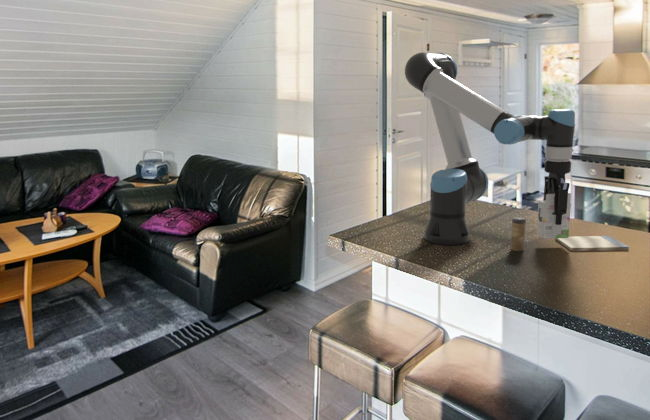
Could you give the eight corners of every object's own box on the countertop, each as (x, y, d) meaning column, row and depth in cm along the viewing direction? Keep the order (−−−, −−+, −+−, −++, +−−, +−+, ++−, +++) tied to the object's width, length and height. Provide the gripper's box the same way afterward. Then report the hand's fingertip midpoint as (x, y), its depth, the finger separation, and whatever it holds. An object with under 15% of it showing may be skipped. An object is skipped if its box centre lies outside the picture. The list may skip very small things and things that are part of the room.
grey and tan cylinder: (512, 251, 164) (514, 220, 161) (508, 247, 168) (510, 217, 165) (525, 251, 164) (527, 220, 161) (521, 247, 168) (523, 217, 165)
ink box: (561, 233, 170) (565, 189, 166) (568, 238, 165) (572, 193, 161) (535, 234, 170) (538, 190, 166) (542, 239, 165) (545, 193, 161)
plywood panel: (570, 250, 163) (571, 247, 163) (554, 239, 175) (555, 236, 174) (628, 250, 163) (628, 246, 162) (608, 238, 174) (609, 235, 174)
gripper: (583, 163, 152) (576, 239, 158) (558, 155, 170) (552, 223, 176) (557, 164, 153) (551, 239, 158) (535, 156, 170) (530, 224, 176)
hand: (552, 231), depth 167 cm, fingers closed on ink box, 5 cm apart
